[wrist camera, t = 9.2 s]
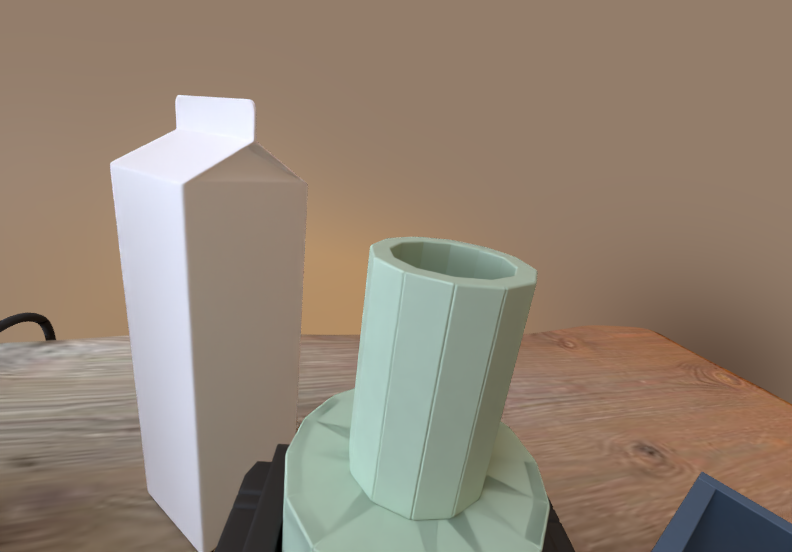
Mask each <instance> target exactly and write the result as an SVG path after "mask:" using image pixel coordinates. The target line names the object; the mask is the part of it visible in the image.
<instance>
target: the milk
mask: <svg viewBox="0 0 792 552" xmlns="http://www.w3.org/2000/svg"><path fill="white" fill-rule="evenodd" d="M175 107H176V130H174V131H172V132H170V133H168V134H166V135H164V136H162V137H160V138H158V139H156V140H154V141H152V142H150V143H148V144H146V145H144V146H142V147H140V148H139V149H136V150H134V151H132V152H130V153H128V154H126V155H124V156H122V157H121V158H118V159H116V160H115V161H113V162H111V163H110V170H111V178H112V188H113V196H114V204H115V213H116V222H117V231H118V239H119V248H120V256H121V265H122V274H123V282H124V291H125V300H126V309H127V317H128V326H129V334H130V343H131V352H132V360H133V369H134V378H135V386H136V395H137V403H138V412H139V421H140V429H141V438H142V447H143V455H144V464H145V473H146V481H147V489H148V493H149V494H150V495H151V496H152V497H153V499H154V500H155V501H156V502H157V503H158V505H159V506H160V507H161V508H162V509H163V510H164V512H165V513H166V514H167V515H168V516H169V518H170V519H171V520H172V521H173V522H174V523H175V525H176V526H177V527H178V528H179V529H180V530H181V532H182V533H183V534H184V535H185V536H186V538H187V539H188V540H189V541H190V542H191V543H192V545H193V546H194V547H195V548H196V549H197V551H198V552H211V551H212V550H213V549H214V548H216V547H217V544H218V542H219V539H220V537H221V534H222V532H223V529H224V527H225V524H226V522H227V519H228V516H229V514H230V511H231V509H232V508H233V504H234V501H235V499H236V496H237V495H238V491H239V489H240V486H241V484H242V481H243V479H244V476H245V474H246V473H247V472H248V471H249V470H250V469H251V468H252V467H253V466H254V464H255V463H256V462H257V461H265V462H272V459H273V456H274V453H275V450H276V447H277V445H278V444H291V442H292V440H293V438H294V437H295V435H296V419H297V399H298V378H299V357H300V337H301V315H302V294H303V274H304V254H305V253H304V252H305V234H306V213H307V192H308V185H307V183H306V182H305V181H304V180H302V179H301V178H300V177H299V176H297V175H296V174H295V173H294V172H293V171H292V170H290V169H289V168H288V167H287V166H286V165H284V164H283V163H282V162H281V161H280V160H279V159H277V158H276V157H275V156H274V155H273V154H271V153H270V152H269V151H268V150H266V149H265V148H264V147H263V146H262V145H260V144H259V143H258V142H257V139H256V106H255V104H254V102H253V101H252V100H249V99H235V98H234V99H233V98H219V97H202V96H185V95H178V96H177V98H176V103H175Z"/></svg>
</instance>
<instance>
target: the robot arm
mask: <svg viewBox="0 0 792 552" xmlns="http://www.w3.org/2000/svg"><path fill="white" fill-rule="evenodd" d="M26 321H31V322H35V323H38V325H40V327H41V328H42V330H43V332H44V335H45V340H46V341H51V340H56V336H55V332H54V329H53V327H52V324H51V322H50V321H49V320H48V319H47V318H46V317H44V316H42V315H39V314H36V313H22V314H17V315H14V316H10V317H8V318H6V319H3V320H1V321H0V332H1V331H3V330H5V329H7V328H8V327H10V326H13V325H15V324H17V323H20V322H26ZM289 446H290V444H278V445H277V447H276V450H275V453H274V456H273V459H272V462H265V461H257V462H256V463H255V464H254V466H253V467H252V468H251V469H250V470H249V471H248V472H247V473H246V474H245V476H244V479H243V481H242V484H241V486H240V489H239V491H238V495H237V496H236V499H235V501H234V504H233V508H232V509H231V511H230V514H229V516H228V519H227V522H226V524H225V527H224V529H223V532H222V534H221V537H220V539H219V542H218V544H217V547H216V549H215V552H282V530H283V504H284V479H285V455H286V452H287V450H288V448H289ZM547 497H548V496H547ZM548 500H549V498H548ZM549 504H550V505H549V506H550V510H549V516H548V521H547V527H546V533H545V538H544V544H543V549H542V552H575V550H574V548H573V546H572V544H571V542H570V540H569V538H568V536H567V534H566V532H565V530H564V528H563V526H562V524H561V523H560V522H559V518H558V516H557V514H556V512H555V510H553V506H552V504H551V502H550V500H549Z"/></svg>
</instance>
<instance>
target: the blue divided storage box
mask: <svg viewBox="0 0 792 552" xmlns="http://www.w3.org/2000/svg"><path fill="white" fill-rule="evenodd" d="M651 552H792V524H791V523H789V522H788V521H786V520H784V519H783V518H781V517H779V516H777V515H776V514H774V513H772V512H771V511H769V510H767V509H765V508H764V507H762V506H760V505H759V504H757V503H755V502H753V501H752V500H750V499H748V498H747V497H745V496H743V495H741V494H740V493H738V492H736V491H735V490H733V489H731V488H729V487H728V486H726V485H724V484H723V483H721V482H719V481H717V480H716V479H714V478H712V477H711V476H709V475H707V474H705V473H704V472H701V473H700V475H699V476H698V478H697V480H696V481H695V483H694V484H693V486H692V487H691V489H690V491H689V492H688V494H687V495H686V497H685V499H684V500H683V502H682V503H681V505H680V507H679V508H678V510H677V511H676V513H675V514H674V516H673V518H672V519H671V521H670V522H669V524H668V526H667V527H666V529H665V530H664V532H663V534H662V535H661V537H660V538H659V540H658V541H657V543H656V545H655V546H654V548H653V549H652V551H651Z"/></svg>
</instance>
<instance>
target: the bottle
mask: <svg viewBox="0 0 792 552" xmlns="http://www.w3.org/2000/svg"><path fill="white" fill-rule="evenodd" d="M537 274H538V273H537V271H536V270H535V269H534V268H532V267H531V266H529V265H528V264H526V263H524V262H523V261H521V260H520V259H518V258H516V257H514V256H511V255H508V254H505V253H502V252H499V251H496V250H493V249H490V248H486V247H483V246H478V245H474V244H469V243H463V242H459V241H454V240H447V239H436V238H426V237H401V238H387V239H385V240H382V241H380V242H377V243H375V244H372V245H371V247H370V253H369V262H368V271H367V281H366V291H365V299H364V309H363V318H362V328H361V337H360V346H359V355H358V365H357V374H356V383H355V388H354V389H351V390H348V391H345V392H342V393H339V394H336V395H334V396H332V397H331V398H329V399H328V400H327V401H326V402H324V403H323V404H322V405H320V406H319V407H318V408H317V409H315V410H314V411H313V412H311V413H310V414H309V415H308V416H306V417H305V419H304V420H303V421H302V423H301V425H300V427H299V429H298V431H297V433H296V435H295V437H294V438H293V440H292V442H291V444H290V446H289V448H288V450H287V452H286V455H285V479H284V504H283V530H282V552H542V549H543V544H544V538H545V533H546V527H547V521H548V516H549V510H550V506H549V505H550V504H549V500H548V497H547V494H546V491H545V487H544V484H543V481H542V478H541V474H540V471H539V468H538V465H537V463H536V461H535V459H534V458H533V457H532V456H531V454H530V453H529V452H528V450H527V449H526V448H525V446H524V445H523V444H522V443H521V441H520V440H519V439H518V437H517V436H516V435H515V433H514V432H513V431H512V430H511V429H510V428H509V427H508V426H507V425H505V424H504V423H503V422H501V421H500V420H501V416H502V413H503V409H504V405H505V401H506V397H507V394H508V390H509V386H510V382H511V378H512V375H513V371H514V367H515V363H516V359H517V356H518V352H519V348H520V344H521V340H522V337H523V332H524V329H525V325H526V321H527V318H528V313H529V310H530V306H531V302H532V298H533V295H534V291H535V287H536V283H537Z"/></svg>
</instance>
